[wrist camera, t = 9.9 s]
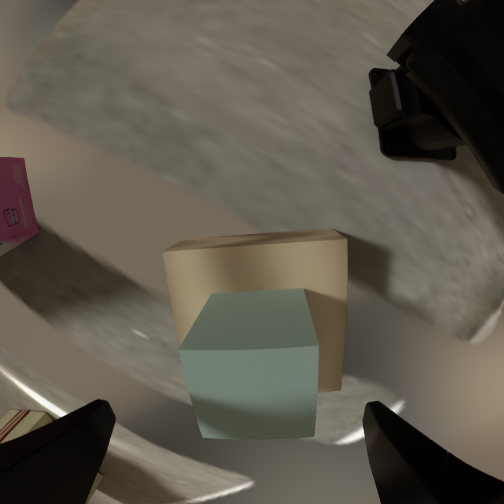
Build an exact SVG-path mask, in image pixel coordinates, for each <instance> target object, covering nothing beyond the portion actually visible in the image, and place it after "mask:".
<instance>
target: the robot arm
mask: <svg viewBox="0 0 504 504" xmlns="http://www.w3.org/2000/svg"><path fill="white" fill-rule="evenodd" d="M387 56H388V57H389V58H391V59H392V60H393V61H394V62H395V61H396V62H397V63H398V64H399V65H400V66H399V67H398V68H397V69H396V70H394V69H392V70H388V69H380V68H373V69H371V71H370V72H369V79H370V84H371V90H370V91H369V95H370V100H371V106H372V113H373V119H374V125H375V126H376V127H377V128H378V133H379V142H380V150H381V152H382V154H383V155H385V156H388V157H413V158H429V159H442V160H454V159H455V158H456V156H457V153H456V146H460V145H467V147H468V148H469V149H470V151H471V152H472V154H473V155H474V157H475V158H476V160H477V161H478V163H479V164H480V166H481V167H482V169H483V170H484V172H485V174H486V175H487V177H488V178H489V180H490V182H491V183H492V185H493V187H494V188H496V189H497V190H498V191H500V192H501V193H502V194H504V0H464V1H463V0H434V1H433V2H432V3H431V4H430V5H429V6H428V7H427V8H426V9H425V10H424V11H423V12H422V13H421V14H420V15H419V16H418V17H417V18H416V19H415V20H414V21H413V22H412V23H411V25H410V26H409V27H408V28H407V29H406V30H405V31H404V33H403V34H402V35H401V36H400V38H399V39H398V40H397V42H396V43H395V44H394V46H393V47H392V48H391V50H390V51H389V52H388V54H387ZM374 73H376V74H377V75H378V76H379V77H376V76H375V75H374ZM386 146H389V147H390V152H387V151H386ZM449 151H451V156H450V154H449ZM115 422H116V417H115V414H114V413H113V410H112V408H111V406H110V404H109V402H108V401H106V400H101V399H97V400H95V401H93V402H91V403H89V404H87V405H85V406H83V407H81V408H79V409H77V410H75V411H73V412H71V413H69V414H67V415H65V416H63V417H61V418H59V419H57V420H55V421H52V422H50V423H48V424H46V425H44V426H42V427H40V428H38V429H35V430H33V431H31V432H29V433H26V434H24V435H22V436H20V437H17V438H15V439H12V440H9V441H6V442H3V443H0V504H86V501H87V499H88V496H89V494H90V491H91V489H92V486H93V483H94V481H95V478H96V476H97V474H98V471H99V469H100V466H101V464H102V461H103V459H104V457H105V454H106V451H107V448H108V445H109V442H110V438H111V435H112V432H113V428H114V425H115ZM363 429H364V435H365V441H366V446H367V453H368V459H369V464H370V467H371V470H372V474H373V477H374V480H375V484H376V488H377V491H378V494H379V498H380V502H381V504H504V481H502V480H499V479H497V478H495V477H493V476H490V475H488V474H486V473H484V472H482V471H480V470H478V469H476V468H474V467H472V466H470V465H468V464H467V463H465V462H463V461H462V460H460V459H459V458H457V457H456V456H454V455H453V454H451V453H450V452H448V453H447V450H445V449H444V448H442V447H441V446H439V445H438V444H437V443H435V442H434V441H433V440H431V439H430V438H428V437H427V436H426V435H424V434H423V433H421V432H420V431H419V430H417V429H416V428H414V427H413V426H412V425H410V424H409V423H408V422H406V421H405V420H403V419H402V418H401V417H399V416H398V415H397V414H396V413H394V412H393V411H392V410H390V409H389V408H388V407H386V406H385V405H384V404H382V403H381V402H380V401H374V402H368V403H367V404H366V406H365V411H364V416H363Z"/></svg>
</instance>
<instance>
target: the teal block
mask: <svg viewBox="0 0 504 504" xmlns="http://www.w3.org/2000/svg"><path fill="white" fill-rule="evenodd" d="M178 350H179V355H180V359H181V363H182V367H183V371H184V375H185V379H186V383H187V386H188V390H189V394H190V397H191V401H192V404H193V408H194V411H195V414H196V418H197V421H198V425H199V428H200V431H201V434H202V437H205V438H219V439H288V438H303V437H314V434H315V421H316V406H317V389H318V365H319V343H318V340H317V336H316V332H315V328H314V325H313V321H312V317H311V314H310V310H309V307H308V303H307V300H306V296H305V293H304V289H303V288H295V289H281V290H265V291H247V292H227V293H211V295H210V297H209V298H208V300H207V302H206V303H205V305H204V307H203V308H202V310H201V312H200V313H199V315H198V317H197V319H196V320H195V322H194V324H193V325H192V327H191V329H190V330H189V332H188V334H187V336H186V337H185V339H184V341H183V342H182V344H181V346H180V348H179V349H178Z"/></svg>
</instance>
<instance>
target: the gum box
mask: <svg viewBox="0 0 504 504" xmlns="http://www.w3.org/2000/svg"><path fill="white" fill-rule="evenodd" d="M38 231H39V229H38V226H37V222H36V218H35V214H34V210H33V204H32V198H31V194H30V188H29V184H28V180H27V174H26V168H25V161H24V158H13V157H0V256H2V255H3V254H5V253H6V252H8V251H10V250H11V249H13V248H15V247H16V246H18V245H20V244H21V243H23V242H24V241H26V240H28V239H29V238H31V237H33V236H34V235H36V234H37V233H38Z"/></svg>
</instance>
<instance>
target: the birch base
mask: <svg viewBox="0 0 504 504" xmlns="http://www.w3.org/2000/svg"><path fill="white" fill-rule="evenodd" d="M162 254H163V261H164V267H165V273H166V279H167V285H168V291H169V297H170V302H171V307H172V313H173V318H174V323H175V328H176V332H177V337H178V342H179V346H181V344H182V342H183V341H184V339H185V337H186V336H187V334H188V332H189V330H190V329H191V327H192V325H193V324H194V322H195V320H196V319H197V317H198V315H199V313H200V312H201V310H202V308H203V307H204V305H205V303H206V302H207V300H208V298H209V297H210V295H211V293H227V292H247V291H265V290H281V289H295V288H303V289H304V293H305V296H306V300H307V303H308V307H309V310H310V314H311V317H312V321H313V325H314V328H315V332H316V336H317V340H318V343H319V365H318V389H317V393H321V392H330V391H339V390H341V383H342V373H343V362H344V349H345V334H346V314H347V279H348V252H347V239H346V238H345V237H343V236H342V235H341V234H339V233H338V232H336V231H335V230H333V229H321V230H305V231H290V232H275V233H261V234H247V235H233V236H220V237H209V238H195V239H184V240H182V241H180V242H179V243H177V244H175V245H173V246H171V247H170V248H168V249H166V250H165V251H163V252H162Z"/></svg>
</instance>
